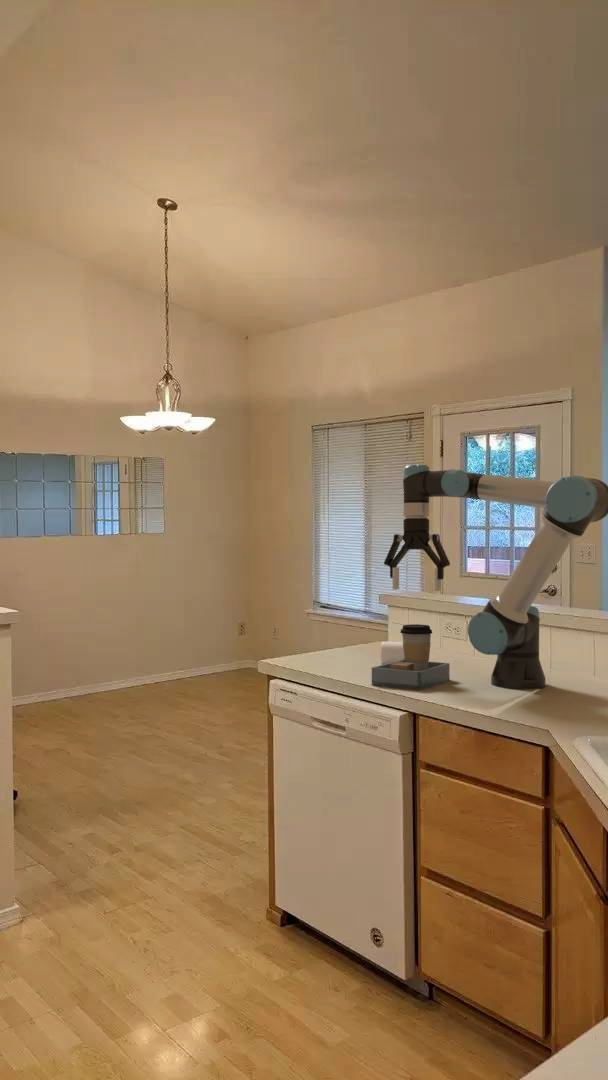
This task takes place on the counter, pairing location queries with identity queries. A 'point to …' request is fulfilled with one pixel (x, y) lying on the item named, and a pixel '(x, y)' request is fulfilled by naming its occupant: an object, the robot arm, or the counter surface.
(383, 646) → the mug
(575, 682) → the counter surface
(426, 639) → the coffee cup
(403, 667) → the walnut block
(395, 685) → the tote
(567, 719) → the counter surface
